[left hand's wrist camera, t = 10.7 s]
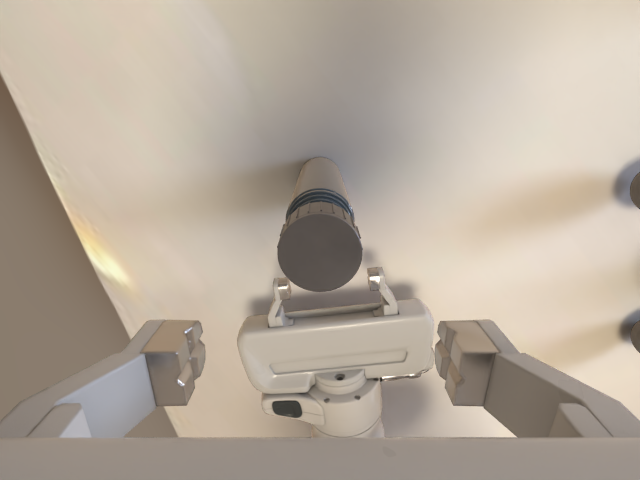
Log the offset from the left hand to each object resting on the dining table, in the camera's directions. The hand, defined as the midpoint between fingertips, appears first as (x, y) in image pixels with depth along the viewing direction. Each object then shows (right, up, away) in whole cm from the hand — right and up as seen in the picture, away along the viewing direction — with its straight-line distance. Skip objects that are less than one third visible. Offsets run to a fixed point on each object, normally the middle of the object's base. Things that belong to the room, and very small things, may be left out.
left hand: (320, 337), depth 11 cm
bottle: (0, +10, +26) cm, 27 cm away
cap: (0, +2, +7) cm, 7 cm away
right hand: (+1, 0, +23) cm, 23 cm away
